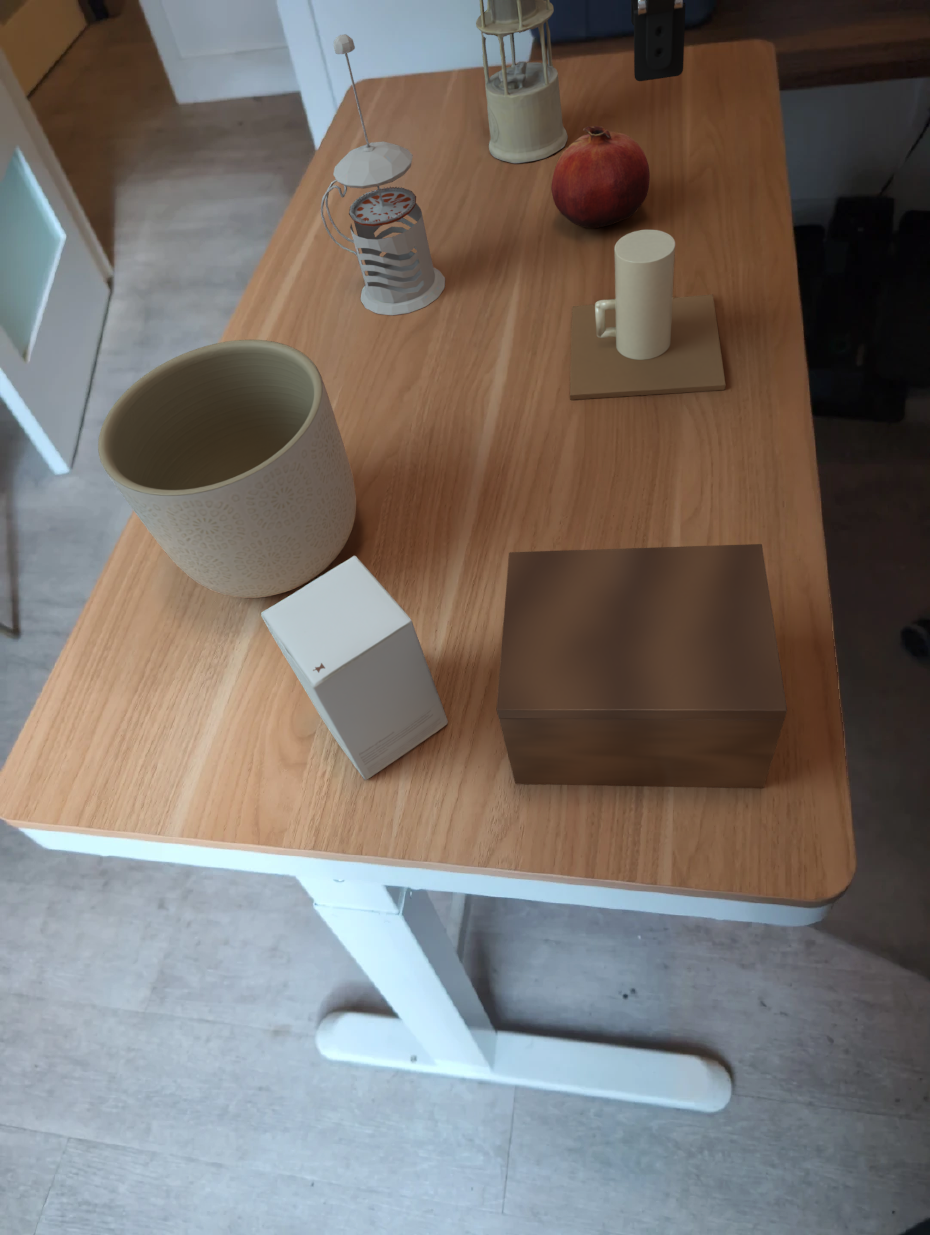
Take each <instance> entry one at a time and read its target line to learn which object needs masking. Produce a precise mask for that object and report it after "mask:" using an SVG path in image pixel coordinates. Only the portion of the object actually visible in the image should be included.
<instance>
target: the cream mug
mask: <svg viewBox="0 0 930 1235" xmlns="http://www.w3.org/2000/svg"><path fill="white" fill-rule="evenodd" d="M613 252H614V253H613V254H614V257H613V258H614V298H610V299H609V298H608V299H599V300H597V301H596V302H595V303H594V304H595V318H596V335H597V337H599V338H606V337H616V348H617V350H618V351H619V353H621V354H622V355H623V356H625V357H628V358H631V359H636V360H645V359H651V358H655V357H657V356H659V355H661V354H663V353H664V352H665V351H666V350H667V349H668V348H669V346H670V343H671V326H672V304H673V298H674V281H675V280H674V279H675V261H676V259H675V258H676V241H675V239H674V237H673V236H672V235H671V234H669V233H668V232H665V231H663V230H659V229H641V230H634V231H632V232H629V233H626V234H624V235H623V236H622V237H620V238H619V239H618V240H617V241H616V243H615V245H614V249H613ZM612 309H615V325H616V327H608V328H605V310H612Z"/></svg>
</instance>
